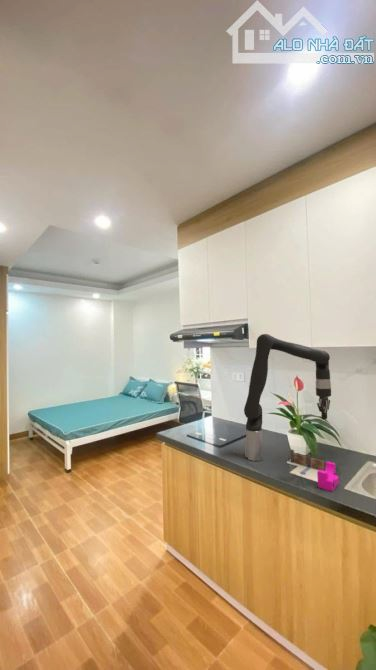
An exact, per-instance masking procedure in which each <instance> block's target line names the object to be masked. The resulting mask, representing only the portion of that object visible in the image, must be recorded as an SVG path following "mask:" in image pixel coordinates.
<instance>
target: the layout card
mask: <svg viewBox="0 0 376 670" xmlns="http://www.w3.org/2000/svg"><path fill="white" fill-rule="evenodd" d="M286 464H289V465H291V466H295V468H294V469H292V470H291V471H289V474H291V475H293V476H297V477H300V478H303V479H307V480H309V481H312V482H314V483H318V475H317V471H318V469H314V468H311V467H307V466H304V465H301V464H298V463H294V462H291V459H289V460H287V462H286Z"/></svg>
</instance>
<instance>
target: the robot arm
mask: <svg viewBox="0 0 376 670" xmlns="http://www.w3.org/2000/svg"><path fill="white" fill-rule="evenodd" d="M271 350H274V351H275V350H276V351H280V352H283V353H285V354H288V355H291V356H293V357H297V358H301V359H303V360H309V361H312V362H314V363H315V395H316V396H317V397H319V398H318V402H317V403H316V405H317V408H318V411H319V412H320V413H321V416H320V417H321V419H322V420H325V421H326V420H327V419H328V411H329V410H330V406H331V405H330V404H331V400H330V399H329V398H330V397H331V396H332V382H331V373H330V359H331V358H330V357H331V356H330V354H329V353H328V352H327V351H325V350H321V349H315V348H312V347H309V346H306V345H303V344H298V343H294V342H289V341H285V340H282V339H279V338H276V337H274V336H272V335H271V334H267V333H262V334H260V335H259V336H258V337H257V338H256V348H255V357H254V361H253V364H252V369H251V374H250V378H249V379H250V380H249V386H248V393H247V397H246V402H245V405H244V409H243V413H244V416H245V418H247V419H246V420H247V421H246V423H245V435H246V436H245V441H244V452H245V454H244V456H245V458H246V457H247V458H248V459H247V458H246V459H247V460H248V461H251V460H252V462H259V461H262V460H263V435H262V433H263V432H262V428H263V427H262V426H263V408H262V405H261V404H260V402H261V397H262V394H263V391H264V389H265V386H266V384H267V379H268V373H269V372H268V371H269V356H270V352H271Z"/></svg>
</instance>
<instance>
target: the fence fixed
mask: <svg viewBox="0 0 376 670" xmlns="http://www.w3.org/2000/svg"><path fill="white" fill-rule="evenodd" d="M290 460H291V462H294V463H298V464H301V465H304V466H307V467H311V454H310V453H307V454H306V455H303V454H300V453H296V452H295V450H294V449H290Z"/></svg>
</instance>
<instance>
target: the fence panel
mask: <svg viewBox="0 0 376 670" xmlns="http://www.w3.org/2000/svg"><path fill="white" fill-rule="evenodd" d="M310 461H311V468H314V469H318V470H323V471H325V469H326V462H327V461H328V462H329V459H324V460H321V459H319V458H314V457H310Z"/></svg>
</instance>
